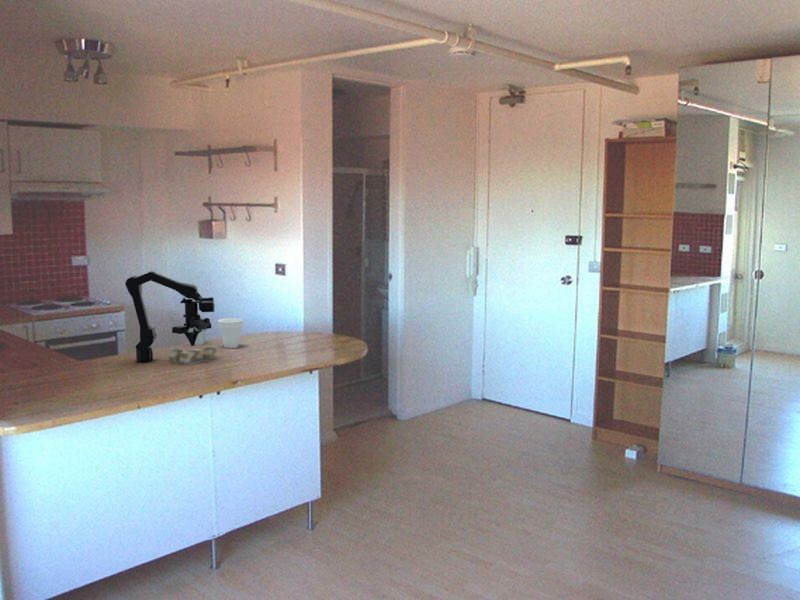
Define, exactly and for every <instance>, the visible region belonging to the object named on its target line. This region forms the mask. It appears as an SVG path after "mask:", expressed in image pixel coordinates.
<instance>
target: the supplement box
mask: <svg viewBox="0 0 800 600" xmlns="http://www.w3.org/2000/svg"><path fill="white" fill-rule="evenodd" d="M206 343H207V329H203V330H202V332H200V333H199V334H198V336H197V338H196V342H195V345H194V346H203V345H204V344H206ZM188 345H189V346H191V344H190V342H189V341H188Z"/></svg>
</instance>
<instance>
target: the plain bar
mask: <svg viewBox="0 0 800 600" xmlns="http://www.w3.org/2000/svg"><path fill="white" fill-rule="evenodd" d="M203 349H204V348H201V347H200V348H199V347H198V348H194V349H190V350H185V351H184V350H183V352H180V353H179V361H181V362H190V361H194V360H199V359H203Z"/></svg>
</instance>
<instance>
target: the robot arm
mask: <svg viewBox="0 0 800 600" xmlns="http://www.w3.org/2000/svg"><path fill="white" fill-rule="evenodd" d="M148 282H154V283H156V284H159V285H161V286H164V287H167V288H169V289H172V290H173V291H176V292H177V293H179V295H181V296H183V297H182V300H181V301H180V304H184V314H182V315H183V318H184V319H185V320H184V321H185V322H183V325H177V326H176V325H175V326H172V328H171V333H172V334H178V335H183V334H184V335H185V337H186V338H187V340H188V343H189V342H190V344H191V345H190V346H191V347H194V346H196V345H195V342H196V338H197V336H198V334H199V333H200V332H202V330H203V329H206V330H208V329H212V323H211V320H210V318H208V317H206V318H205V317H204V318H201V314H199V311H200V312H201V313H215V309H216V308H215V300H214V299H215V298H214V297H213V296H212V297H202V295H201V294H200V293H199V292H198V290H199V289H198V286H196V285H194V284H190V283H185V282H181V281H180V282H179V281H177V280H174V279H172V278H169V277H167V276H164V275H162V274H160V273H157V272H156V271H153V270H151V271H148V272H146V273H144V274H141V275H139V276H137V275H132V276H130V277H128V278H127V279H126V280H125V288H126V289H127V291H128V293H129V295H130V297H131V299H132V302H133V306H134V309H135V313H136V317H137V321H138V326H139V342H138V343H137V344H136V345H135V354H136V355H135V356H136V357H135V358H136V360H134V362H135V363H140V364H141V363H142V364H145V363H151V362H155V359H153V358H154V353H153V348H152V347H151V346H152V345H153V344H154V342H155V341H156V339H157V338H156V337H158V335H157V333H156V329H155V328H156V327H151V325H150V322H149V318H148V315H147V310H146V307H145V303H144V300H143V286H142V285H144V284H146V283H148ZM198 310H199V311H198Z"/></svg>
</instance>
